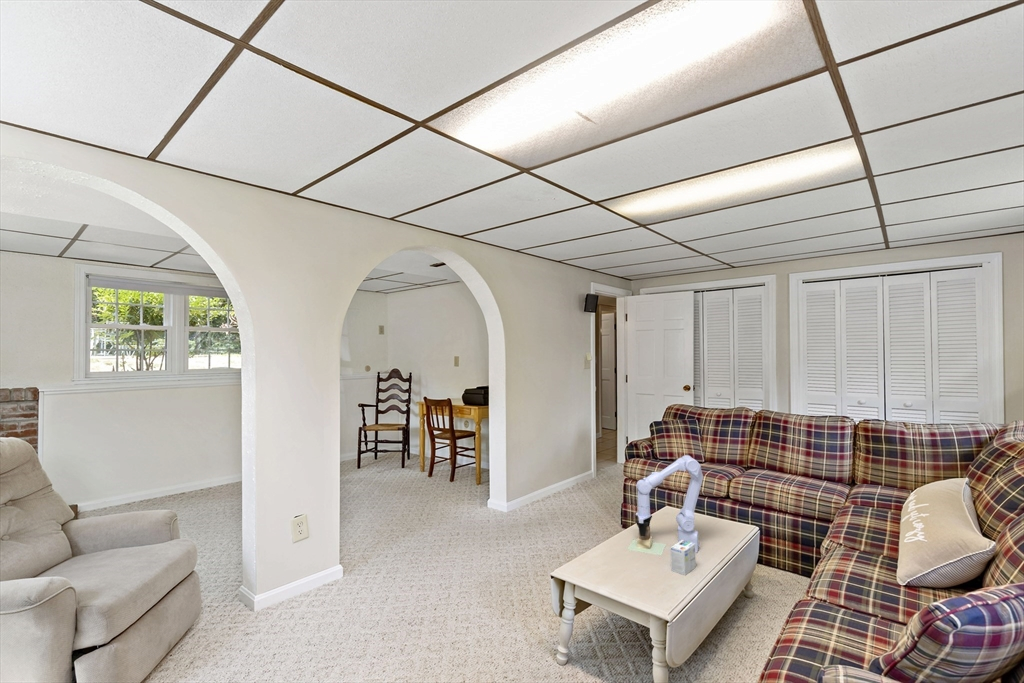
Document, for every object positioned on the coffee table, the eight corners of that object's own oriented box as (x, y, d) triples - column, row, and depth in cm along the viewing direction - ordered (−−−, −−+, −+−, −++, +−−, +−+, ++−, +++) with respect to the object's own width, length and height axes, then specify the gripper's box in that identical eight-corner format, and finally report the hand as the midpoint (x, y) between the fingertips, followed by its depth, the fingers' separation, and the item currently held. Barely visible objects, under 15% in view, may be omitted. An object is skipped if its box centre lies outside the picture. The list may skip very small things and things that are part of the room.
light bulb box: (681, 563, 215) (681, 539, 216) (696, 567, 210) (695, 543, 211) (670, 571, 208) (669, 546, 208) (685, 576, 203) (684, 550, 203)
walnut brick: (650, 536, 234) (650, 526, 234) (648, 540, 230) (648, 529, 230) (641, 535, 236) (640, 525, 236) (639, 538, 232) (638, 528, 232)
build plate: (666, 546, 234) (666, 544, 234) (661, 557, 221) (661, 555, 221) (633, 541, 241) (633, 539, 241) (626, 551, 229) (626, 549, 229)
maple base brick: (652, 544, 234) (652, 536, 234) (650, 549, 228) (649, 540, 229) (640, 542, 237) (639, 534, 237) (637, 547, 231) (637, 538, 231)
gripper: (638, 500, 241) (639, 527, 241) (632, 508, 228) (632, 537, 228) (653, 501, 238) (653, 529, 238) (647, 510, 225) (647, 539, 225)
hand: (644, 533), depth 233 cm, fingers open, 7 cm apart
